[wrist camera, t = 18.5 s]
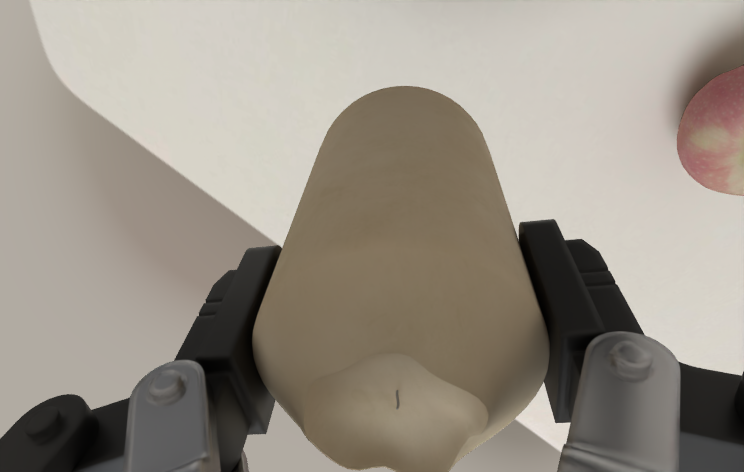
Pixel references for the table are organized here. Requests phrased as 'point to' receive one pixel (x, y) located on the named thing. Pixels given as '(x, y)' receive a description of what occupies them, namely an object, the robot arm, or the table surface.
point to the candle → (401, 292)
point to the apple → (715, 134)
